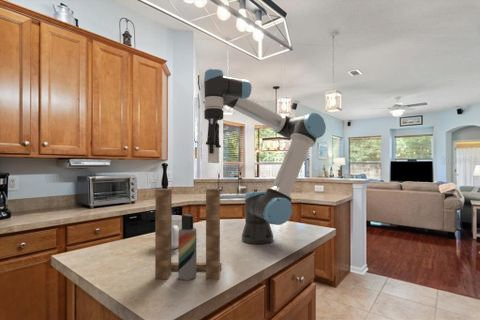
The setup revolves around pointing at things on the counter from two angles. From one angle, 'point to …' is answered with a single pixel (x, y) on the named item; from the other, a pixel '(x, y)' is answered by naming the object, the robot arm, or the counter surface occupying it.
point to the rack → (165, 235)
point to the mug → (176, 229)
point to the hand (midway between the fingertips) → (213, 163)
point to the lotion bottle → (187, 249)
